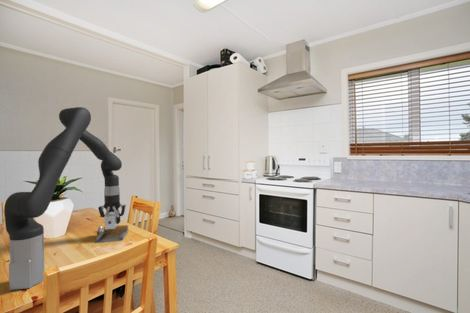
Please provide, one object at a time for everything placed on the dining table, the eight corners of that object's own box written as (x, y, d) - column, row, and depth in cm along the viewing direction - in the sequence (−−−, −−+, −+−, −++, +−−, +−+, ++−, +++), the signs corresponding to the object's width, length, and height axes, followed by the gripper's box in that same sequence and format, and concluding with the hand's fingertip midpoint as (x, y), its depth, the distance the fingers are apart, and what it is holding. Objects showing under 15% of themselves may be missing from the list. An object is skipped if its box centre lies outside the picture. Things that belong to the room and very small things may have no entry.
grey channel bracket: (122, 240, 122) (121, 233, 122) (95, 243, 119) (95, 235, 119) (128, 231, 136) (128, 224, 136) (104, 233, 133) (104, 226, 133)
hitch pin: (103, 234, 132) (103, 229, 132) (98, 234, 131) (98, 230, 131) (103, 230, 138) (103, 226, 138) (97, 231, 136) (97, 226, 136)
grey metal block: (114, 228, 123) (114, 215, 123) (104, 229, 122) (104, 216, 122) (119, 222, 133) (119, 211, 133) (110, 223, 132) (110, 211, 132)
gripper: (95, 195, 122) (96, 227, 122) (124, 194, 125) (124, 224, 125) (100, 193, 129) (100, 222, 130) (127, 192, 132) (128, 220, 133)
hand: (112, 223), depth 127 cm, fingers closed on grey metal block, 5 cm apart
